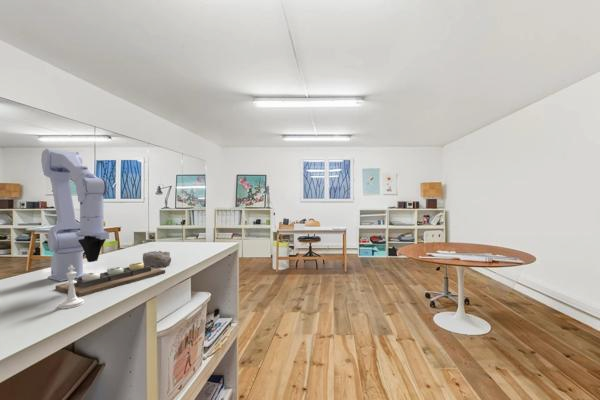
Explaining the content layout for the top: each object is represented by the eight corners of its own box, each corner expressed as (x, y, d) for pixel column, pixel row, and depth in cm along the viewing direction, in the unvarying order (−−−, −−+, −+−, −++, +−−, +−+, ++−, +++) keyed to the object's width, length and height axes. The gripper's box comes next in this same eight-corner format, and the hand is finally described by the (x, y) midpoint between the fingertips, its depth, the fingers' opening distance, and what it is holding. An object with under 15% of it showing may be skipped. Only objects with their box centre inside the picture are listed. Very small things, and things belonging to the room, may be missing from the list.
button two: (104, 277, 88) (104, 269, 88) (118, 273, 92) (118, 265, 92) (112, 278, 86) (112, 270, 86) (126, 275, 90) (126, 267, 90)
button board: (55, 289, 81) (55, 280, 81) (141, 268, 104) (140, 261, 104) (80, 296, 75) (80, 286, 74) (165, 273, 98) (165, 265, 98)
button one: (78, 283, 82) (78, 274, 82) (95, 279, 86) (95, 270, 86) (86, 285, 80) (86, 276, 80) (103, 281, 84) (103, 272, 84)
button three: (126, 271, 95) (126, 264, 95) (139, 268, 98) (138, 261, 98) (134, 273, 93) (134, 265, 93) (146, 270, 96) (146, 262, 96)
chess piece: (69, 309, 66) (69, 268, 66) (53, 307, 67) (52, 267, 67) (89, 301, 71) (88, 263, 71) (73, 300, 72) (73, 262, 72)
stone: (172, 266, 108) (171, 251, 108) (143, 270, 103) (143, 255, 102) (169, 262, 115) (169, 248, 115) (142, 265, 109) (141, 251, 109)
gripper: (64, 217, 83) (64, 261, 83) (89, 218, 77) (90, 266, 77) (90, 215, 89) (91, 257, 90) (116, 217, 83) (116, 261, 83)
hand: (92, 261), depth 84 cm, fingers closed
